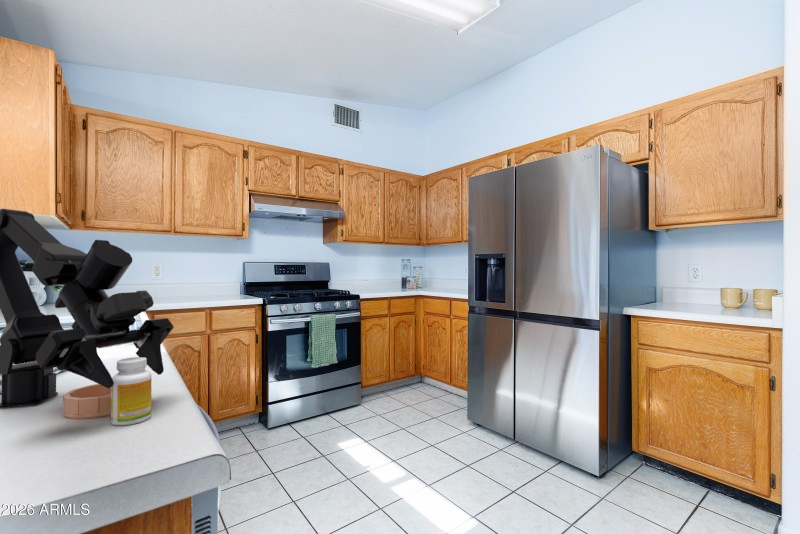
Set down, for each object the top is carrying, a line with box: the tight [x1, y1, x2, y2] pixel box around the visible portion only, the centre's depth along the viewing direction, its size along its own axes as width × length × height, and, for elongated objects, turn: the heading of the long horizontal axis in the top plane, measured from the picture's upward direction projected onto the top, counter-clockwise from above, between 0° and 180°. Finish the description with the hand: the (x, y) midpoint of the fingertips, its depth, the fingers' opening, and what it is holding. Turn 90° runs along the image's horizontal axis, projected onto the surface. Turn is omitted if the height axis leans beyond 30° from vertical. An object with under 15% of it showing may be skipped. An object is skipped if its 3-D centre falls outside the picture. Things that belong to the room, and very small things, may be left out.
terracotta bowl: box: [62, 383, 111, 420], centre depth 68 cm, size 11×11×3 cm
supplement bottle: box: [110, 356, 152, 426], centre depth 62 cm, size 5×5×10 cm
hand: (138, 379), depth 62 cm, fingers open, 8 cm apart
